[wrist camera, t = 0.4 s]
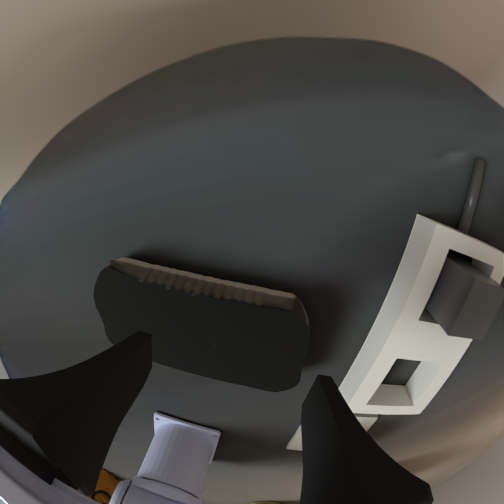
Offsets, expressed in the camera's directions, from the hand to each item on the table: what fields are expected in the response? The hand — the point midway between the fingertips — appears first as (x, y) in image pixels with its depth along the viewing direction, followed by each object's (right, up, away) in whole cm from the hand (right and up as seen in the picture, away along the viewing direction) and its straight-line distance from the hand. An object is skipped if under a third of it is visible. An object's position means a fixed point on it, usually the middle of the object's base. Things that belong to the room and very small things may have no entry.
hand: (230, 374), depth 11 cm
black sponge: (-3, 0, +11) cm, 12 cm away
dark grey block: (+16, +3, +8) cm, 18 cm away
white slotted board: (+16, +2, +8) cm, 18 cm away
